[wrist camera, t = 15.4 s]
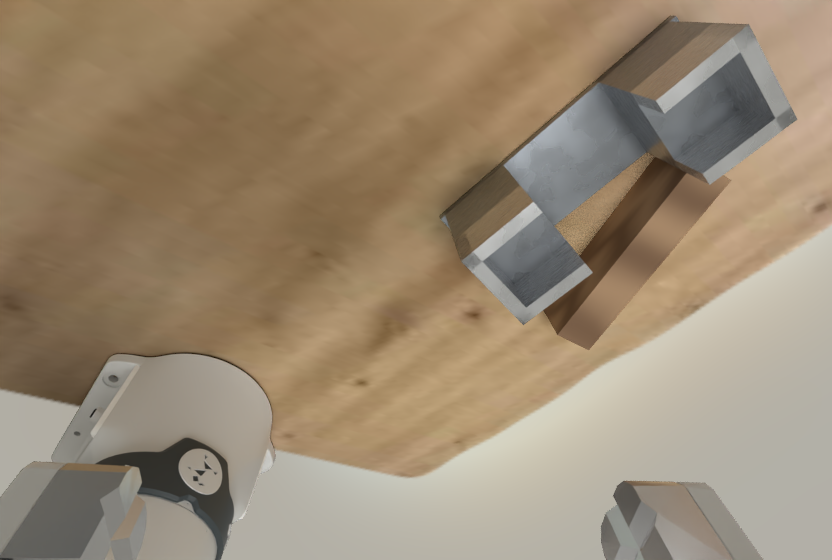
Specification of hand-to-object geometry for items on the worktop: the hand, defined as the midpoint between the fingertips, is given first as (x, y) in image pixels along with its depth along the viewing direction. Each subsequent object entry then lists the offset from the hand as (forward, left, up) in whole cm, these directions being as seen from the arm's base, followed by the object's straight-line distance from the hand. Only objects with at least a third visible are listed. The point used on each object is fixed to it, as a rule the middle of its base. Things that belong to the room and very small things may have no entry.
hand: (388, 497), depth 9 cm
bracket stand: (+9, -12, -34) cm, 38 cm away
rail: (+8, -21, -34) cm, 41 cm away
